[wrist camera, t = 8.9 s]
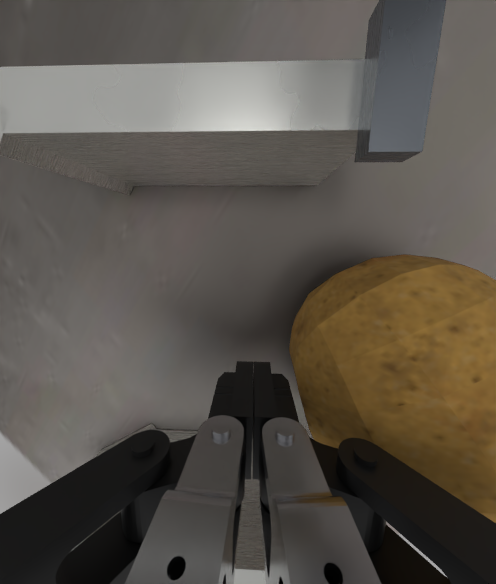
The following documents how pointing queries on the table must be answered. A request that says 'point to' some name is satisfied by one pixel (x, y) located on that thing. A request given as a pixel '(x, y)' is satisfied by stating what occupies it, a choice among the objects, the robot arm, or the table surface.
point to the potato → (406, 368)
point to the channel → (229, 133)
